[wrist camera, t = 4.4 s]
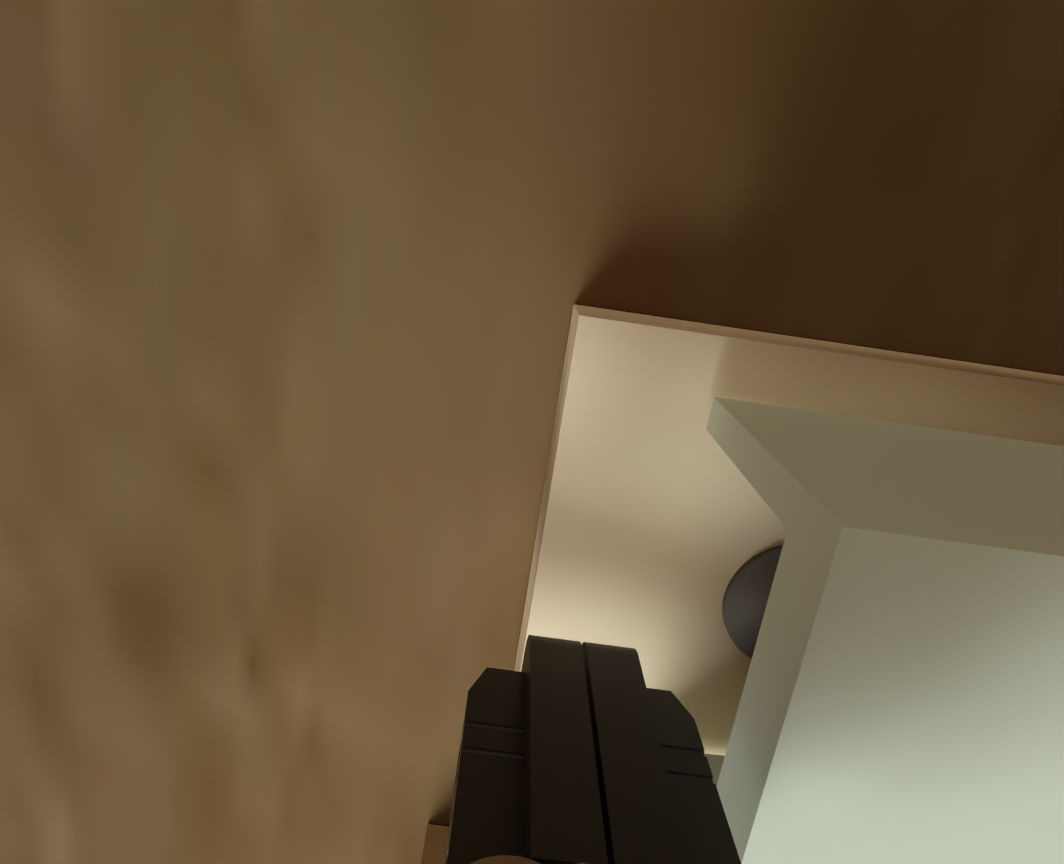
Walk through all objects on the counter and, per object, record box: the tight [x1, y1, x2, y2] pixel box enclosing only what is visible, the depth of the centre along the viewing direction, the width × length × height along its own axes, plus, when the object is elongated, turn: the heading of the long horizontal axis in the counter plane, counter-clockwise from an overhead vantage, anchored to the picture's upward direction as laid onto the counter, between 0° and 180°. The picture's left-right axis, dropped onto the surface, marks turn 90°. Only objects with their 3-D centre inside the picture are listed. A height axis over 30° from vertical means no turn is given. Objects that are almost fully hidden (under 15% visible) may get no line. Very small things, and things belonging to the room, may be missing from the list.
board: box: [514, 304, 1064, 756], centre depth 14 cm, size 10×15×4 cm, turn 82°
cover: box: [704, 397, 1064, 864], centre depth 11 cm, size 8×10×5 cm
